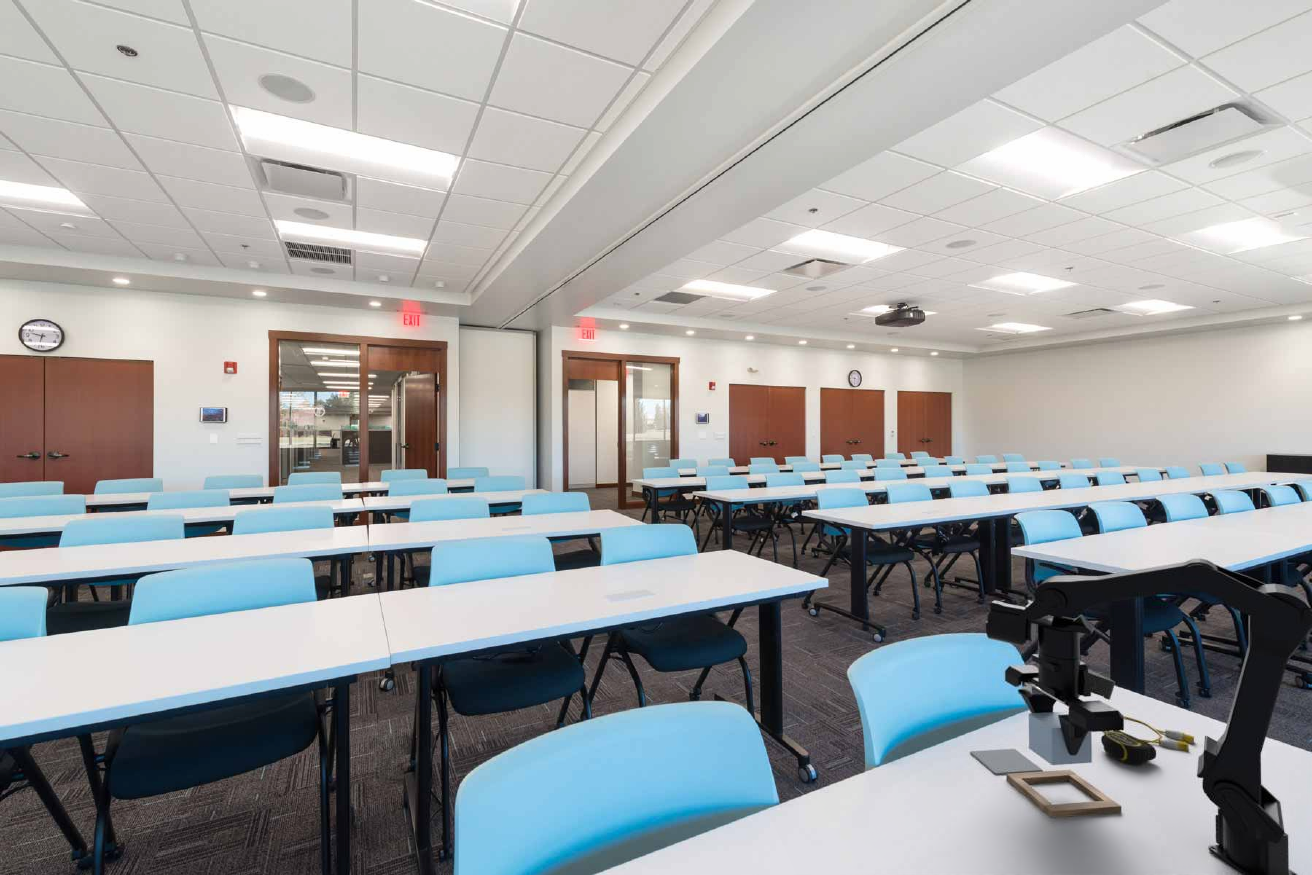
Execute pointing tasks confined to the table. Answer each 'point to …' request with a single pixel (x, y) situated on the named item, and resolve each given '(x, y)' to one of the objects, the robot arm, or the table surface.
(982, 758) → the pad
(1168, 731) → the extension cord
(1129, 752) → the tape measure
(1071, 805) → the frame
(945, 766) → the table surface
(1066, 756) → the part block
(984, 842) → the table surface
